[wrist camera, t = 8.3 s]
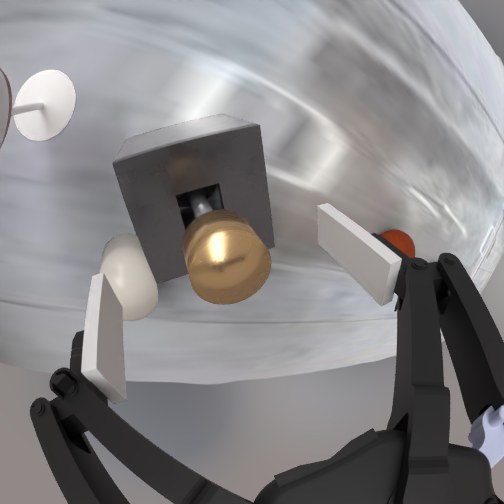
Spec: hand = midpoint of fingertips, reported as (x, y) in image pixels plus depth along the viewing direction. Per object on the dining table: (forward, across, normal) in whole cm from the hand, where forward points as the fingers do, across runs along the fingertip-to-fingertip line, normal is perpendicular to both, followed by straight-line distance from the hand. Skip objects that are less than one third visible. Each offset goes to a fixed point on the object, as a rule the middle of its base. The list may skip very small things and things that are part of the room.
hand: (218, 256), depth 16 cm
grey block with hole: (+19, +1, 0) cm, 19 cm away
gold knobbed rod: (+17, +1, 0) cm, 17 cm away
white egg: (+19, -9, -9) cm, 23 cm away
